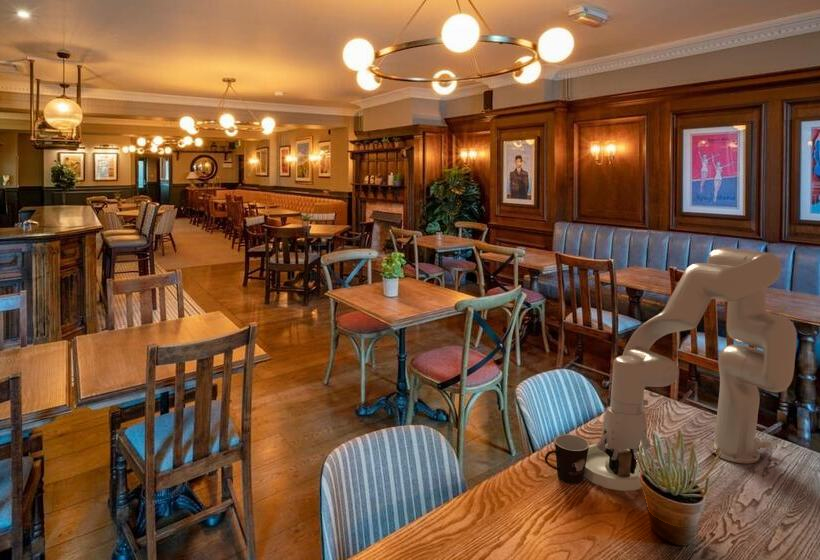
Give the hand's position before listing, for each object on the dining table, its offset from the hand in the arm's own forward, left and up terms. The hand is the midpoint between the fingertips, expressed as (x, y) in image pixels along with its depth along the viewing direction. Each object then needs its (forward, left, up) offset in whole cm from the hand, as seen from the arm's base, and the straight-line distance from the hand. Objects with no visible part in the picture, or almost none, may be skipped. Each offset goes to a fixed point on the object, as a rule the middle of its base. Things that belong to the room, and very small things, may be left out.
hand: (622, 470), depth 131 cm
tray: (0, -5, -3) cm, 6 cm away
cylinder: (0, 0, -1) cm, 1 cm away
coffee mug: (+14, -3, -3) cm, 15 cm away
